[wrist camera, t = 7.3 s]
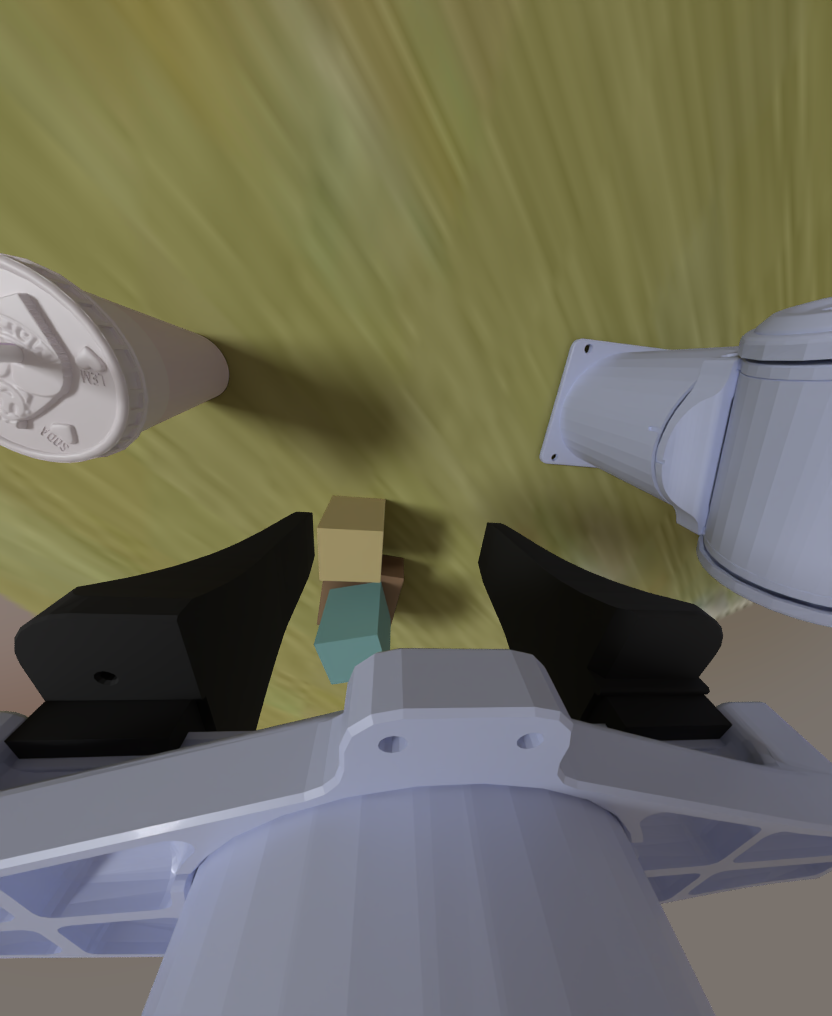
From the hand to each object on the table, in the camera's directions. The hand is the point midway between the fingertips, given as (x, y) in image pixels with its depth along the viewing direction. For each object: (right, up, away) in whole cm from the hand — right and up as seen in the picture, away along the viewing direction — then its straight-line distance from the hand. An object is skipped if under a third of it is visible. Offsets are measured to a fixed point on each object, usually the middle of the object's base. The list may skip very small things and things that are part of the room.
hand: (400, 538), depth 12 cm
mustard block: (-4, 0, +11) cm, 12 cm away
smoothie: (-13, +10, +6) cm, 17 cm away
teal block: (-4, -6, +11) cm, 14 cm away
